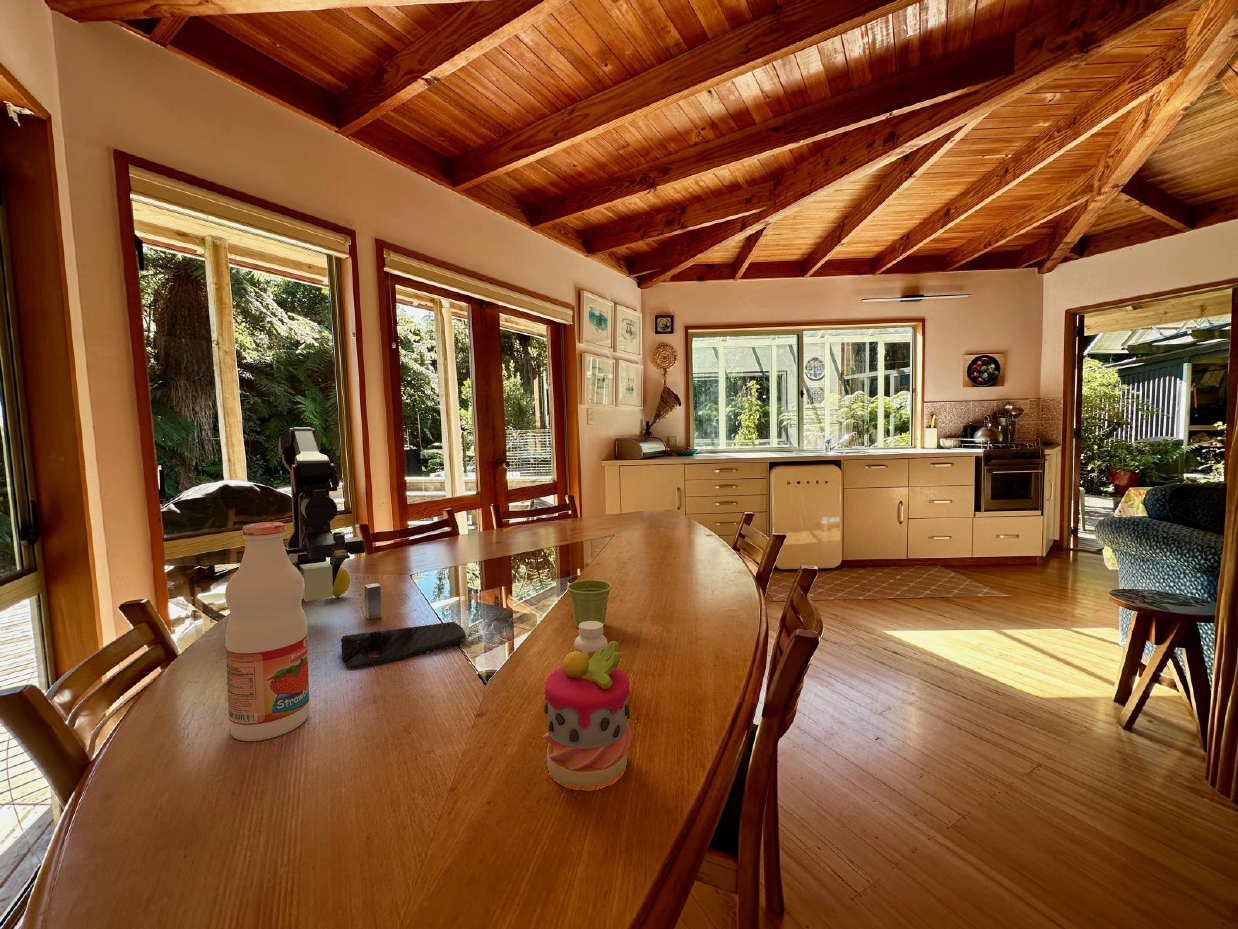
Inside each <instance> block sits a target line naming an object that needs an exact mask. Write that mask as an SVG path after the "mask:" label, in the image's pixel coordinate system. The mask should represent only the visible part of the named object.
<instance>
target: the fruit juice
mask: <svg viewBox="0 0 1238 929" xmlns="http://www.w3.org/2000/svg"><path fill="white" fill-rule="evenodd" d="M286 530H287V529H286V524H285V523H284V522H282V521H281V522H279V521H278V522H277V521H272V522H271V521H269V522H268V521H267V522H266V521H265V522H257V523H255V522H254V523H250V524H246V525H243V526H242V530H241V534H242V539H243V540H244V541H245V545H244V546H245V547H244V552H243V556H242V558H241V562H240V564H239V567H238V568H237V570H236V571H235V572H234V574H233V575H232V576H231V577H230V579H229V580H228V582H227V584H226V587H225V593H224V599H225V602H226V603H225V604H226V606H227V607H228V611H229V614H230V616H229V620H228V622H227V624H226V628H225V642H224V643H225V654H226V655H225V657H226V658H225V659H226V661H225V662H226V680H227V681H226V683H227V684H226V685H227V705H228V706H227V710H228V712H227V713H228V728H229V733H230V735H231V736H232V738H234V739H236V740H239V741H243V742H258V741H264V740H268V739H272V738H277V737H280V736H282V735H284V734H287V733H289V732H291V731H293V730H295V729H298V727H299V726H301V725H302V724H303V723H304V722H305V721H306V720H307V718H308V715H309V713H310V683H309V682H310V681H309V676H310V675H309V651H308V650H309V645H308V623H307V622H308V621H307V615H306V612H305V610H304V609H303V606H302V602H303V594H304V589H305V584H304V578H303V576H302V574H301V572H300V571H299V570H298V569H297V568H296V567H295V566H294V565H293V564H292V563H291V561H290V559H289V557H288V555H287V553H286V550H285V548H284V546H285V544H284V537H285V535H286Z"/></svg>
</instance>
